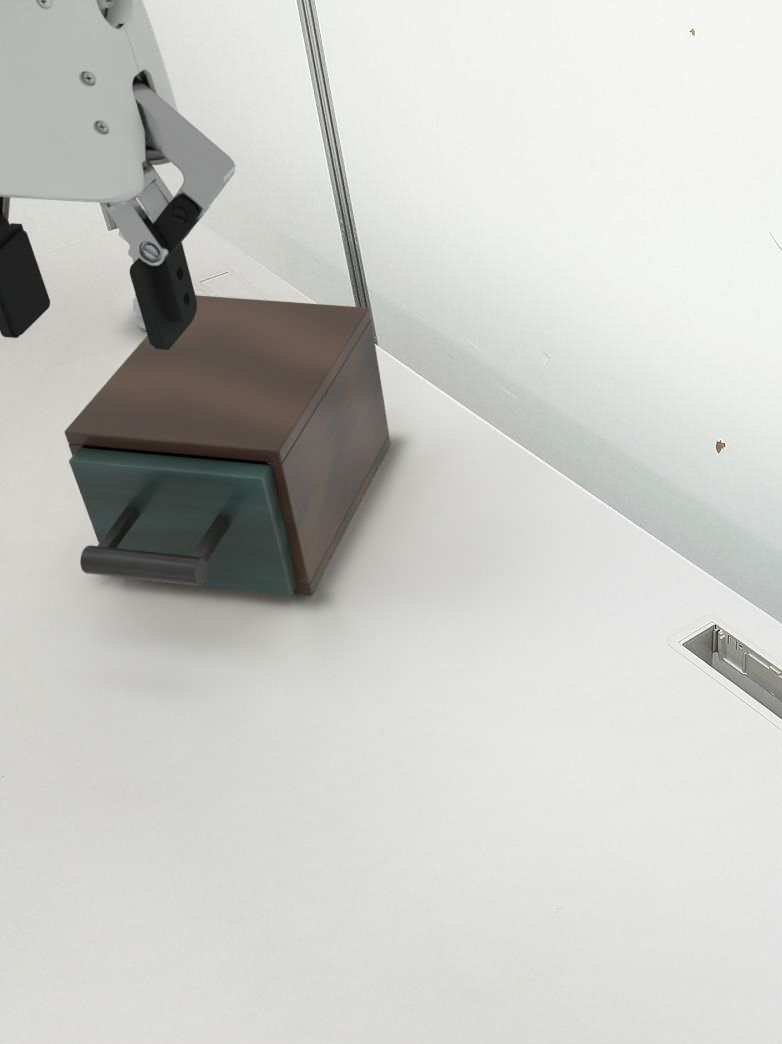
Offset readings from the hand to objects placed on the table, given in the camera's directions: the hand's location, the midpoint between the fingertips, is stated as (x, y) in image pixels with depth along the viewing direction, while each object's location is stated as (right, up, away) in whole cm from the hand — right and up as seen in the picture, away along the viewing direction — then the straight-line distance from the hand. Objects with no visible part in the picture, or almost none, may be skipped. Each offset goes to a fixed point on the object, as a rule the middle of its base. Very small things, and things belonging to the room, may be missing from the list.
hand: (99, 325), depth 56 cm
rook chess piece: (-9, +8, +36) cm, 38 cm away
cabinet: (+2, -7, +19) cm, 20 cm away
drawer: (+1, -9, +15) cm, 18 cm away
